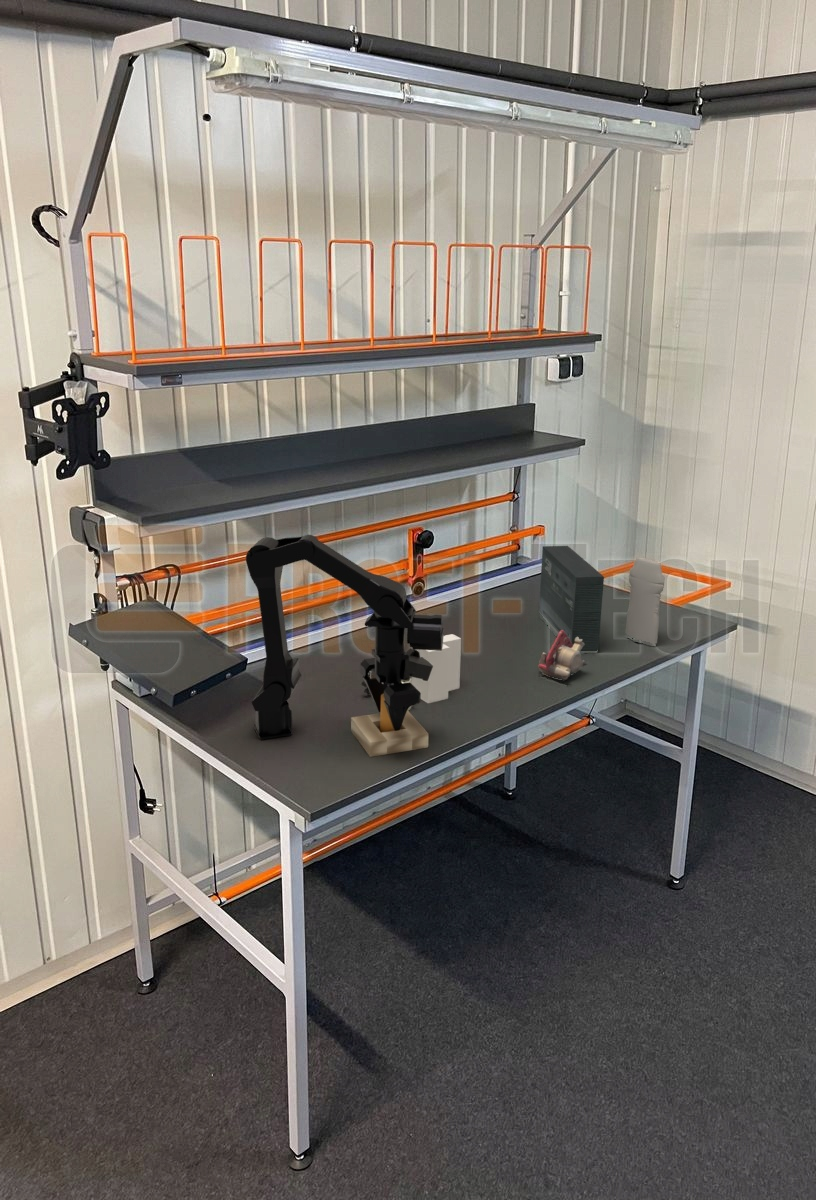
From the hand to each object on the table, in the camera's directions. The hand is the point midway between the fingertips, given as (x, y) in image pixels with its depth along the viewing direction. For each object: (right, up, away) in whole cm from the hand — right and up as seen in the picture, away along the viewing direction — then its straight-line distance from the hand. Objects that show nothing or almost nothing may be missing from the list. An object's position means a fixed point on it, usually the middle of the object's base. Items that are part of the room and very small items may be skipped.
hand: (388, 720), depth 190 cm
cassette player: (+45, +15, +61) cm, 78 cm away
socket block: (0, -4, +1) cm, 4 cm away
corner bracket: (+10, +4, +25) cm, 27 cm away
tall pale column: (+64, +13, +56) cm, 86 cm away
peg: (0, -4, +1) cm, 4 cm away
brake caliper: (+39, +6, +34) cm, 53 cm away
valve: (0, +2, +18) cm, 19 cm away
